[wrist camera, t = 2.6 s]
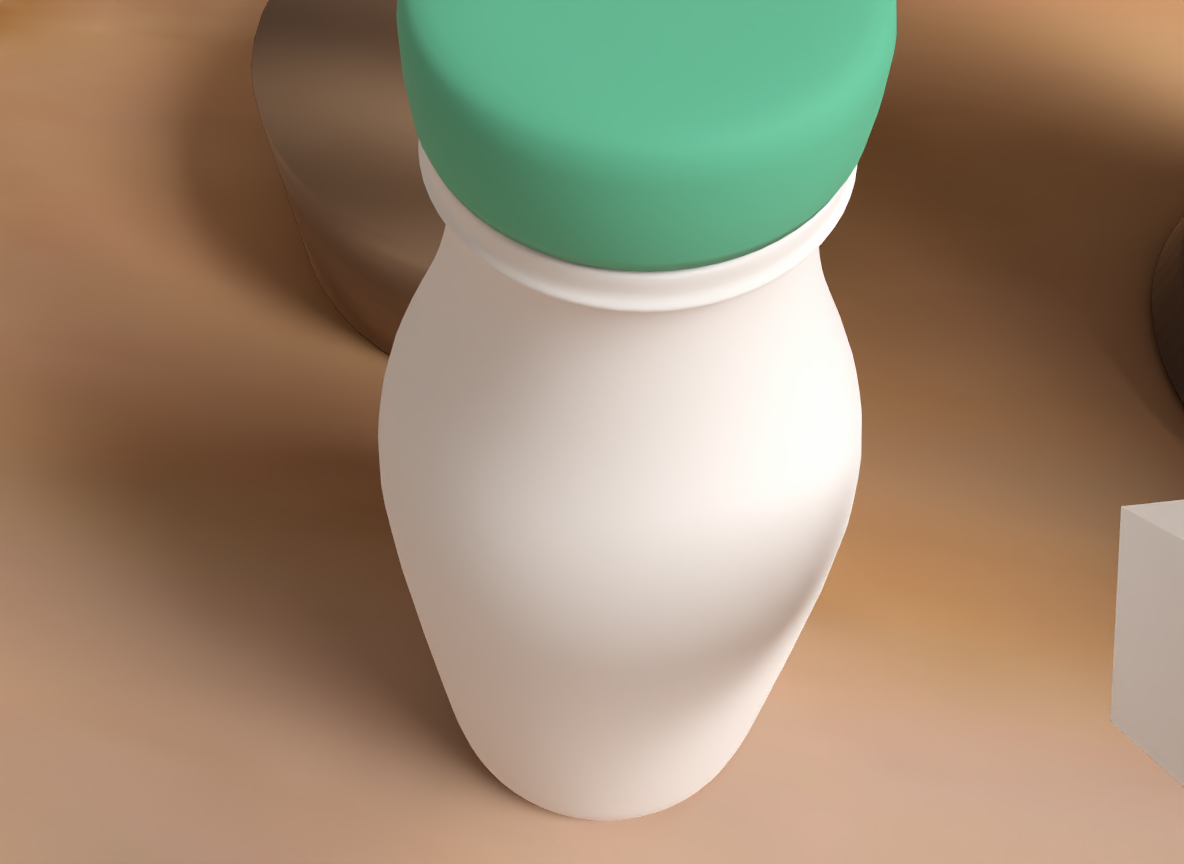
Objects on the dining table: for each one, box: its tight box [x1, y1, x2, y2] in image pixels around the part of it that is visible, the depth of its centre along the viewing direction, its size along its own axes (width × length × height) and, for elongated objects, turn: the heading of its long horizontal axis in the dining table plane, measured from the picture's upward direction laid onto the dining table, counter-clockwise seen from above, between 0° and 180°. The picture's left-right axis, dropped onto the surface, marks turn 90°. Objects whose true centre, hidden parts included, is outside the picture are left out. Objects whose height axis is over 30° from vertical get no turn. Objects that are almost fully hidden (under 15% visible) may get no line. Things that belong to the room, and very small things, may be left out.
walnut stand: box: [251, 0, 446, 355], centre depth 32 cm, size 16×16×6 cm
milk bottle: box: [378, 0, 897, 821], centre depth 18 cm, size 8×8×20 cm
